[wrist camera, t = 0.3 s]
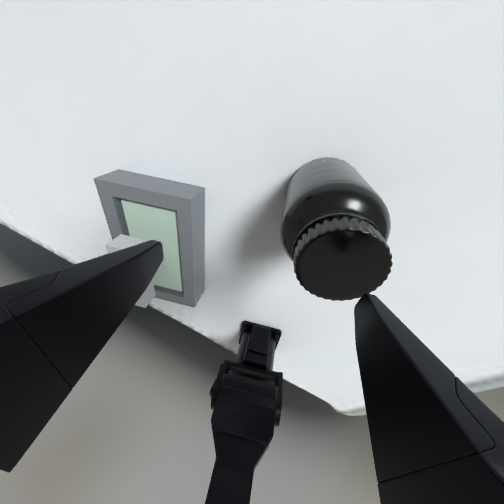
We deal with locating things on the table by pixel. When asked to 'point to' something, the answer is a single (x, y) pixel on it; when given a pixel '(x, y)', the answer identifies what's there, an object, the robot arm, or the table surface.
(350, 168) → the supplement bottle
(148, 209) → the cover
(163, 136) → the table surface
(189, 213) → the case
